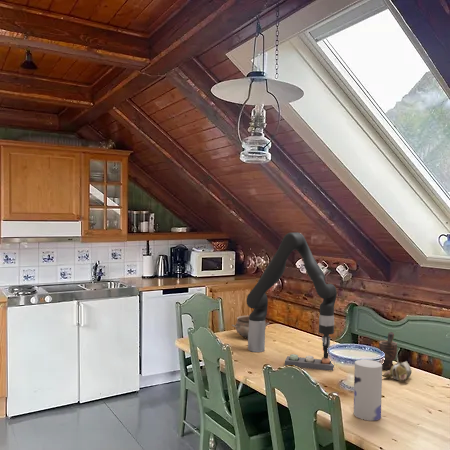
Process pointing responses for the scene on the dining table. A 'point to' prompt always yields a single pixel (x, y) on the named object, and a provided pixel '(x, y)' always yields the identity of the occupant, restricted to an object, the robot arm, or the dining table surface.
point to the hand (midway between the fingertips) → (325, 358)
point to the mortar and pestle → (388, 351)
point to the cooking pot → (243, 326)
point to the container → (367, 389)
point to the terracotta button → (325, 360)
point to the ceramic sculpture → (399, 371)
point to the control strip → (309, 364)
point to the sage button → (294, 357)
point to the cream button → (310, 359)
